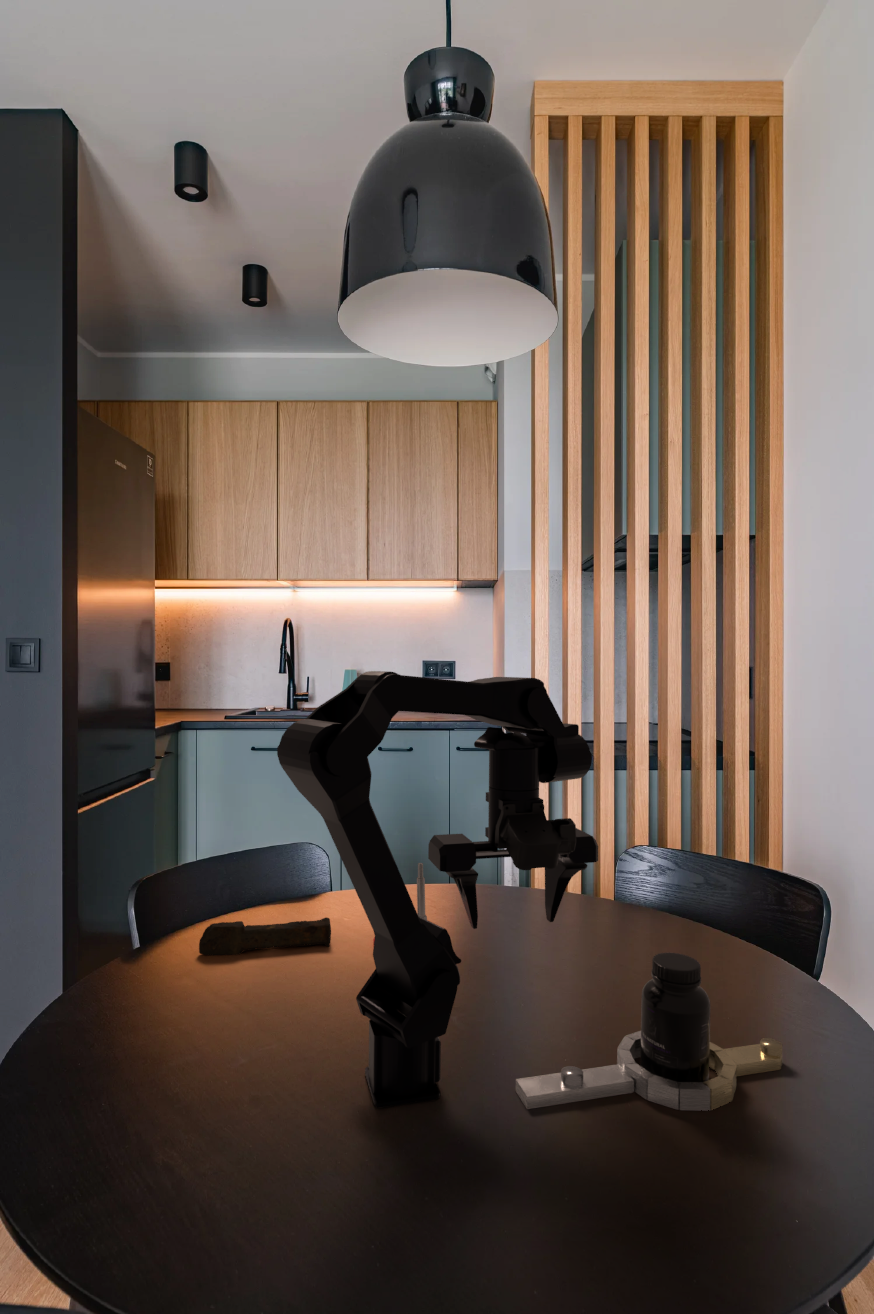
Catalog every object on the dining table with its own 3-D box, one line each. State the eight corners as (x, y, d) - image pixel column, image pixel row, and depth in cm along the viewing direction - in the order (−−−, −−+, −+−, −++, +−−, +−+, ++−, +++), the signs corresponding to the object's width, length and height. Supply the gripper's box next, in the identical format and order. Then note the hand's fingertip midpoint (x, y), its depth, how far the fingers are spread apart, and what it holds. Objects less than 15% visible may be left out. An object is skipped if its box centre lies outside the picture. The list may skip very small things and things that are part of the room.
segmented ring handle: (545, 1138, 65) (545, 1116, 65) (500, 1067, 76) (500, 1048, 76) (713, 1110, 69) (713, 1089, 69) (647, 1047, 80) (647, 1029, 80)
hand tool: (329, 939, 111) (329, 909, 111) (331, 949, 107) (332, 918, 107) (201, 950, 107) (201, 918, 107) (198, 961, 103) (199, 928, 103)
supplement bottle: (634, 1085, 73) (635, 966, 73) (646, 1053, 79) (647, 943, 79) (706, 1104, 70) (707, 980, 70) (713, 1069, 76) (713, 955, 76)
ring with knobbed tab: (708, 1111, 69) (708, 1090, 69) (643, 1047, 80) (643, 1029, 80) (821, 1092, 72) (821, 1072, 72) (743, 1033, 84) (743, 1016, 84)
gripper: (455, 803, 72) (453, 960, 72) (623, 796, 77) (622, 944, 76) (427, 785, 83) (426, 921, 82) (576, 780, 87) (575, 909, 87)
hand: (512, 924), depth 82 cm, fingers open, 9 cm apart
